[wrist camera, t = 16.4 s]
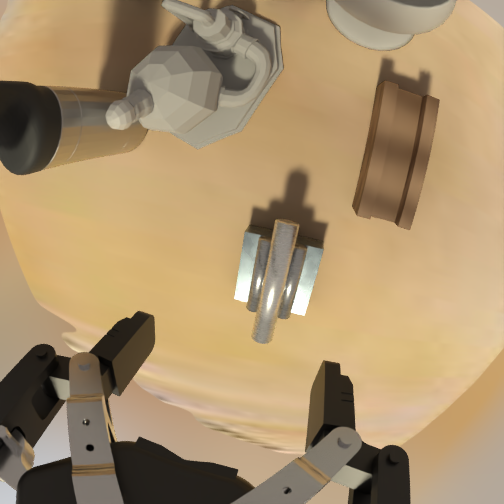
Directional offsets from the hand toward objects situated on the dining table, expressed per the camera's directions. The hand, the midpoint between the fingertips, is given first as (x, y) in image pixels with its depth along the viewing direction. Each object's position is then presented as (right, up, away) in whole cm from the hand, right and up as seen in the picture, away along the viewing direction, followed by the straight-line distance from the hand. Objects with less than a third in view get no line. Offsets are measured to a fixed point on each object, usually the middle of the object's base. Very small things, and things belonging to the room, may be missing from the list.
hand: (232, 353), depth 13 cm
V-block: (+5, +3, +29) cm, 29 cm away
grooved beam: (+18, +17, +20) cm, 32 cm away
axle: (+4, +1, +24) cm, 24 cm away
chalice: (+16, +35, +13) cm, 41 cm away
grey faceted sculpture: (-4, +28, +21) cm, 35 cm away
